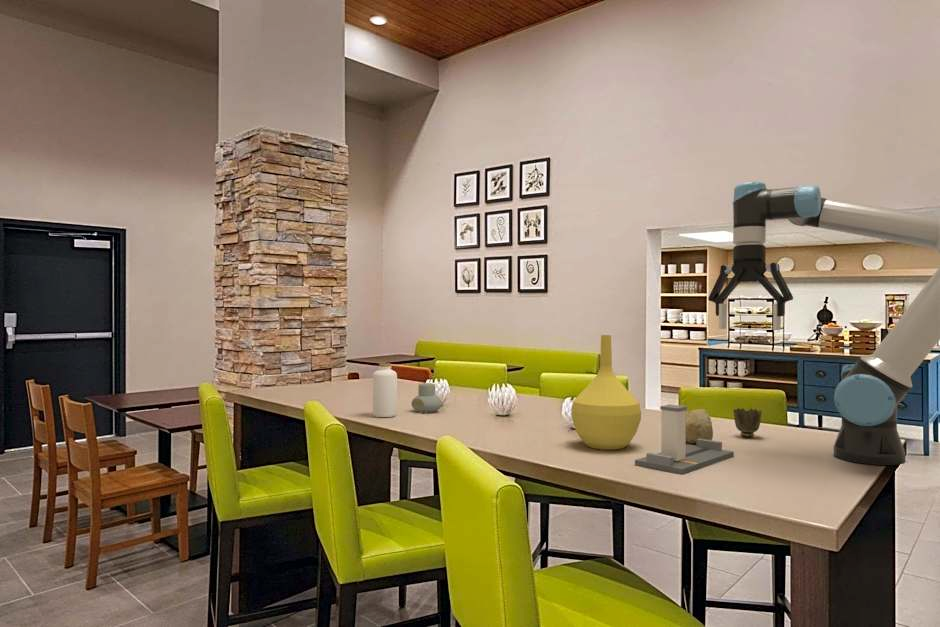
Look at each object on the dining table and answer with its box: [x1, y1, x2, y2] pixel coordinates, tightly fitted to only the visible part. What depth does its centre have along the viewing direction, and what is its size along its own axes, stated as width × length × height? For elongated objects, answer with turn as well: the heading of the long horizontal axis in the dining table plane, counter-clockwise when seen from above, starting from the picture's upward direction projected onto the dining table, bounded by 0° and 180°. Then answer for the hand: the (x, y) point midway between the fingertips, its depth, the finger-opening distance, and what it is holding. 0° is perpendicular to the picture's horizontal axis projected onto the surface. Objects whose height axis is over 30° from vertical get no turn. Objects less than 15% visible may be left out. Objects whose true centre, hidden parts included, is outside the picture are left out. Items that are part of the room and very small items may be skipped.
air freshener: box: [411, 382, 443, 413], centre depth 232 cm, size 11×8×10 cm
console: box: [634, 438, 734, 475], centre depth 157 cm, size 26×12×3 cm, turn 134°
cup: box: [733, 407, 763, 439], centre depth 186 cm, size 8×7×8 cm
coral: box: [686, 408, 714, 445], centre depth 179 cm, size 10×10×10 cm
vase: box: [570, 334, 642, 451], centre depth 174 cm, size 18×18×30 cm
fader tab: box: [659, 403, 688, 461], centre depth 153 cm, size 4×4×12 cm
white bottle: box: [372, 362, 398, 418], centre depth 222 cm, size 8×8×18 cm
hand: (748, 329), depth 163 cm, fingers open, 13 cm apart
